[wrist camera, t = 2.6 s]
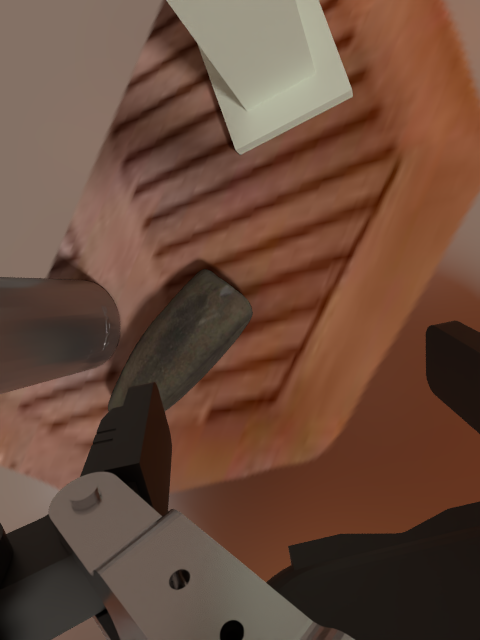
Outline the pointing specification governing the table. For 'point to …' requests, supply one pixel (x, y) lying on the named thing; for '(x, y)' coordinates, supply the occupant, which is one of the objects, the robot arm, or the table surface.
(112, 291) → the table surface
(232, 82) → the stand
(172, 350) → the decorative stone
